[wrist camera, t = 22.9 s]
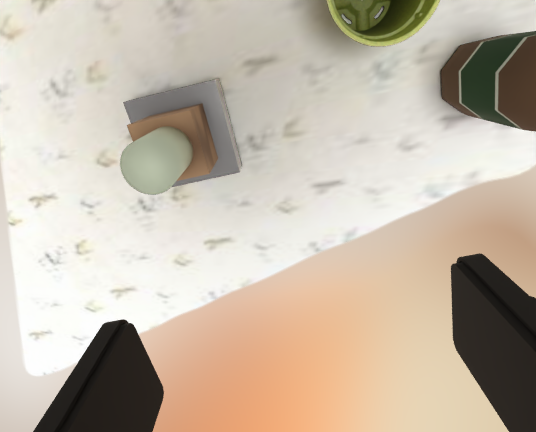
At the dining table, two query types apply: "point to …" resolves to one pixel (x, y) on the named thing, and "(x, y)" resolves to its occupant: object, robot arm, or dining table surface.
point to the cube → (194, 128)
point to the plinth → (215, 115)
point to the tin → (156, 160)
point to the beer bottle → (494, 80)
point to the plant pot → (381, 19)
